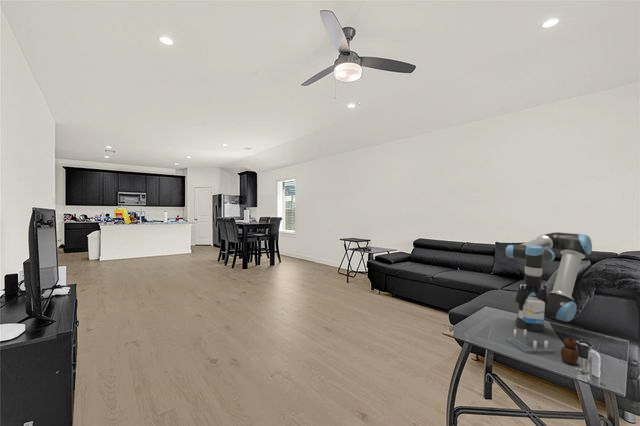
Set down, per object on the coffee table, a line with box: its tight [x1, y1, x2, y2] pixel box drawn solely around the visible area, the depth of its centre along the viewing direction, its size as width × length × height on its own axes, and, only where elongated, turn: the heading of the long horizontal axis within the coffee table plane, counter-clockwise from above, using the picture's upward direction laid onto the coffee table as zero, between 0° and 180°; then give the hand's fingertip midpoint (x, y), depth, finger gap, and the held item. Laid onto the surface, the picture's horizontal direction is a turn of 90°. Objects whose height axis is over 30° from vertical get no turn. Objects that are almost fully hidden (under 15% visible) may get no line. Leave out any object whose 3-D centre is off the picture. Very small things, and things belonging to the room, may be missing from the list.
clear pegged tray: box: [505, 328, 556, 354], centre depth 151 cm, size 16×15×6 cm
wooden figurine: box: [560, 332, 580, 365], centre depth 136 cm, size 7×6×15 cm
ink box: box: [518, 297, 545, 325], centre depth 151 cm, size 9×8×12 cm
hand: (531, 316), depth 151 cm, fingers closed on ink box, 9 cm apart
